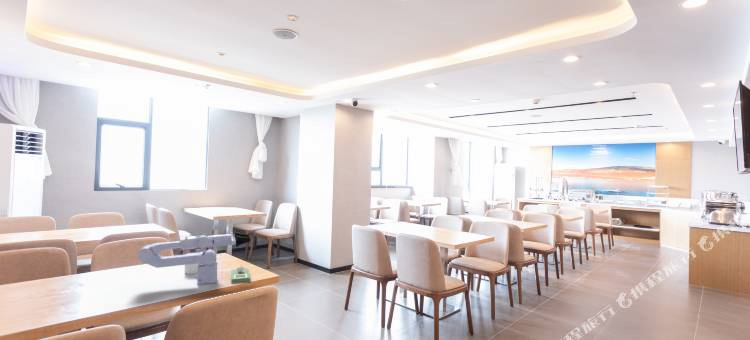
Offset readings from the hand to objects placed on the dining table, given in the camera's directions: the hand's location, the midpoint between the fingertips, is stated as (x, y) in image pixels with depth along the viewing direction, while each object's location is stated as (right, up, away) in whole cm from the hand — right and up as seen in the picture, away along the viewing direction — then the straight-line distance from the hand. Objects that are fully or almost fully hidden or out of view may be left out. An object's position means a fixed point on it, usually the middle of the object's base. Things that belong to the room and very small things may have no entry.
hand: (249, 238), depth 200 cm
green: (-5, -21, 0) cm, 22 cm away
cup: (-36, -21, +9) cm, 42 cm away
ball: (-6, -17, +3) cm, 19 cm away
